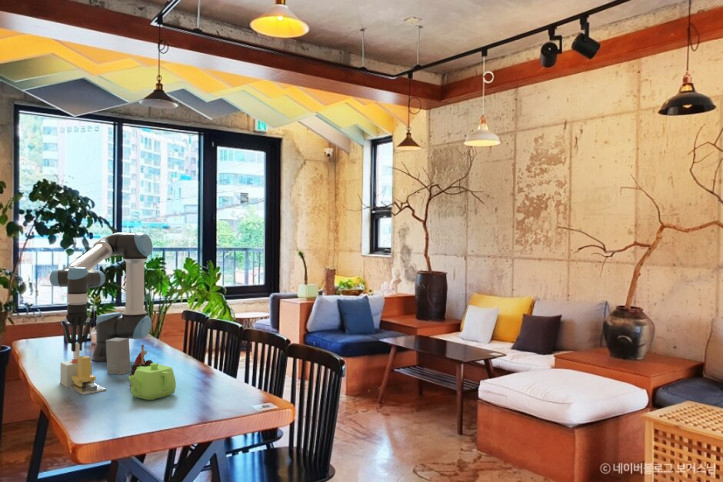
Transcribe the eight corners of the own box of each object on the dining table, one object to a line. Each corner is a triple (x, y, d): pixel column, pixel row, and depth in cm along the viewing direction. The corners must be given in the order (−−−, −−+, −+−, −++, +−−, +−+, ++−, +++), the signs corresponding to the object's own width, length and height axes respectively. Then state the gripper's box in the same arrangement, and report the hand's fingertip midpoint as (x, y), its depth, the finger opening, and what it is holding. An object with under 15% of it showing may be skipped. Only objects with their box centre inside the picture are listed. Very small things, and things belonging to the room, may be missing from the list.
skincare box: (130, 372, 255) (131, 338, 255) (118, 375, 248) (118, 340, 248) (117, 370, 258) (118, 336, 258) (104, 373, 252) (105, 339, 252)
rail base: (91, 383, 235) (91, 377, 235) (105, 390, 224) (106, 384, 224) (68, 387, 228) (69, 381, 228) (82, 394, 218) (82, 388, 218)
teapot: (145, 407, 203) (145, 372, 203) (112, 398, 214) (112, 365, 214) (185, 396, 219) (185, 363, 219) (152, 388, 230) (153, 357, 230)
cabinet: (85, 379, 241) (85, 358, 241) (92, 382, 236) (92, 362, 235) (60, 383, 234) (60, 362, 234) (67, 387, 228) (67, 365, 228)
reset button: (79, 369, 237) (79, 358, 237) (81, 370, 235) (82, 359, 235) (70, 370, 235) (70, 359, 235) (73, 372, 232) (73, 360, 232)
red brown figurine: (141, 392, 223) (142, 348, 223) (123, 389, 226) (124, 346, 226) (159, 385, 233) (160, 343, 233) (142, 383, 236) (142, 341, 236)
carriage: (89, 380, 234) (89, 354, 234) (95, 384, 229) (96, 357, 229) (71, 383, 229) (72, 356, 229) (77, 387, 224) (78, 359, 224)
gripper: (89, 301, 242) (89, 355, 242) (57, 303, 233) (56, 359, 233) (96, 303, 237) (95, 357, 237) (63, 305, 227) (63, 362, 227)
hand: (76, 358), depth 235 cm, fingers closed
